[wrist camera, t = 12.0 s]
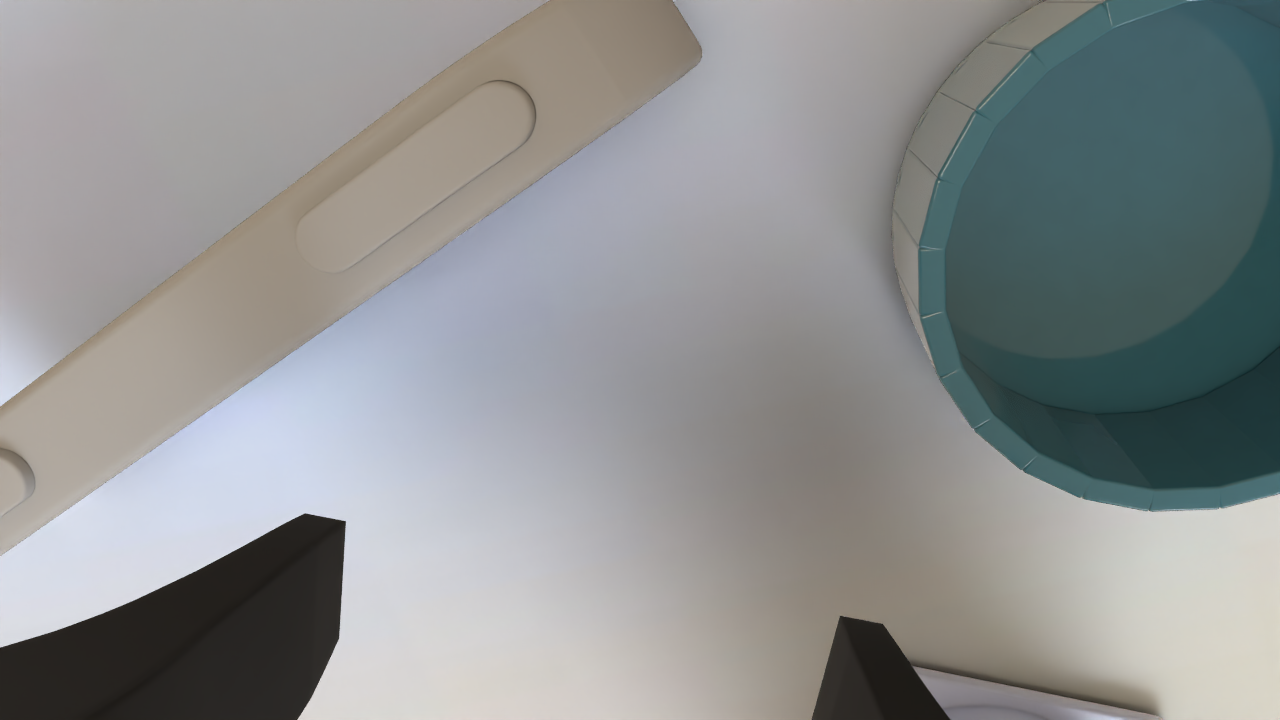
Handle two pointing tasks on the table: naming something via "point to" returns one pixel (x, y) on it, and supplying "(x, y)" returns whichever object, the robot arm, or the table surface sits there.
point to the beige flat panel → (334, 242)
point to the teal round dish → (1108, 247)
